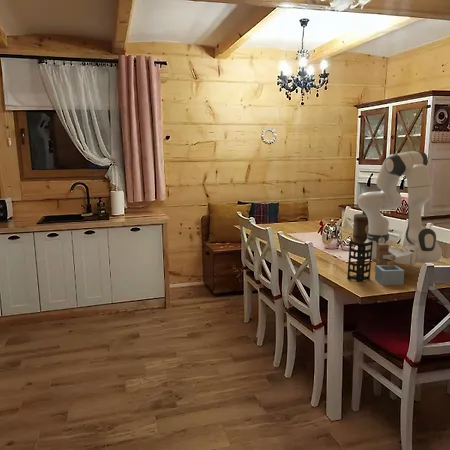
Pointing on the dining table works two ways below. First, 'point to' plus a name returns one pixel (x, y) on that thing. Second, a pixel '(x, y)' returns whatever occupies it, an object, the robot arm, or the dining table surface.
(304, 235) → the dining table surface
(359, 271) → the holder
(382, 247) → the peg
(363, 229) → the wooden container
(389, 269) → the box
